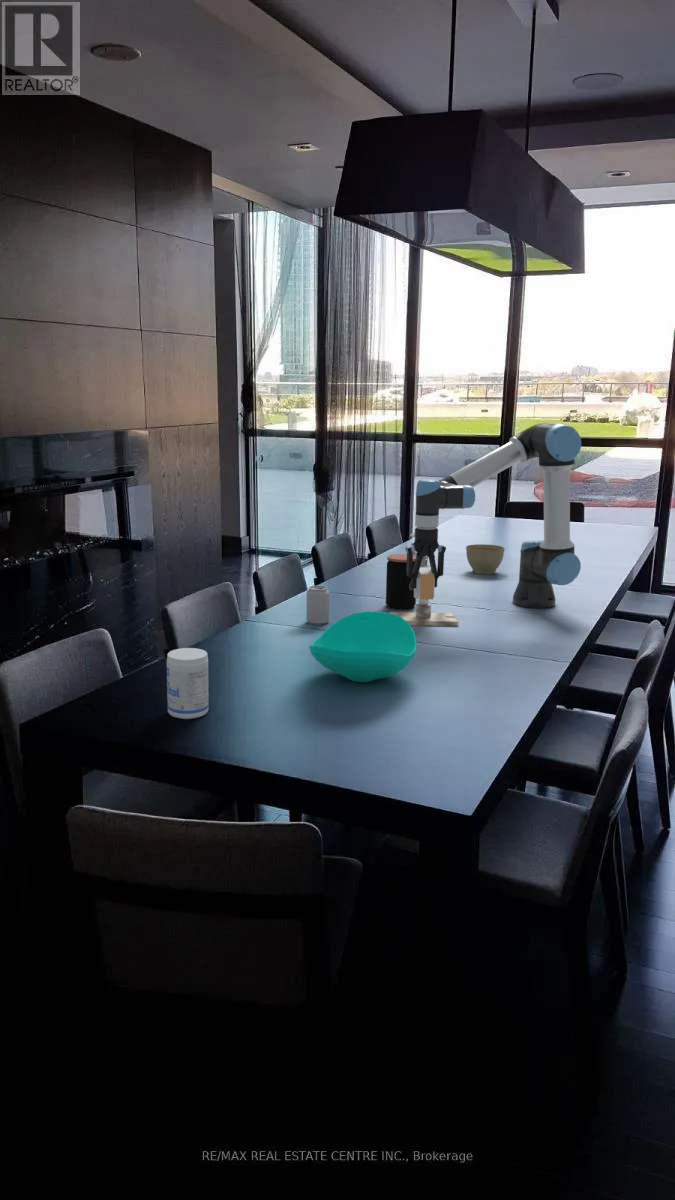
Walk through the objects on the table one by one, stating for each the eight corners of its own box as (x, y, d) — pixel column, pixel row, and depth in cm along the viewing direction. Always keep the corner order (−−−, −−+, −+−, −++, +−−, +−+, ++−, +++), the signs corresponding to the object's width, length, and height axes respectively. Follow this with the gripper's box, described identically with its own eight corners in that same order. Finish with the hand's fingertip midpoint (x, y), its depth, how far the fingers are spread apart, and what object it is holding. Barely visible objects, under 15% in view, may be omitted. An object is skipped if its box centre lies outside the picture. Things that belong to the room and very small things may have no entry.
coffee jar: (413, 611, 299) (415, 560, 295) (383, 609, 301) (384, 558, 297) (417, 603, 310) (419, 554, 305) (387, 602, 312) (389, 553, 307)
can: (332, 621, 285) (333, 586, 282) (323, 626, 278) (323, 590, 275) (312, 618, 288) (312, 583, 285) (302, 623, 281) (302, 588, 278)
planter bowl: (508, 571, 368) (510, 546, 365) (494, 578, 354) (495, 552, 352) (474, 567, 376) (475, 542, 373) (458, 573, 363) (459, 547, 360)
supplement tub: (159, 713, 203) (157, 653, 199) (190, 702, 210) (189, 644, 206) (186, 723, 197) (184, 662, 193) (217, 712, 204) (216, 653, 200)
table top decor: (399, 708, 208) (401, 656, 204) (290, 697, 214) (290, 646, 211) (425, 660, 245) (427, 615, 242) (331, 651, 252) (332, 607, 248)
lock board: (453, 617, 292) (454, 601, 291) (458, 625, 281) (459, 609, 280) (388, 616, 292) (389, 600, 291) (391, 625, 281) (391, 608, 280)
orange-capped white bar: (426, 599, 291) (428, 567, 288) (432, 608, 279) (434, 574, 277) (414, 599, 291) (416, 567, 288) (420, 608, 279) (421, 574, 276)
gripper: (447, 525, 285) (444, 593, 290) (396, 526, 280) (394, 596, 286) (456, 528, 278) (453, 598, 283) (404, 530, 273) (402, 601, 279)
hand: (423, 597), depth 285 cm, fingers closed on orange-capped white bar, 5 cm apart
